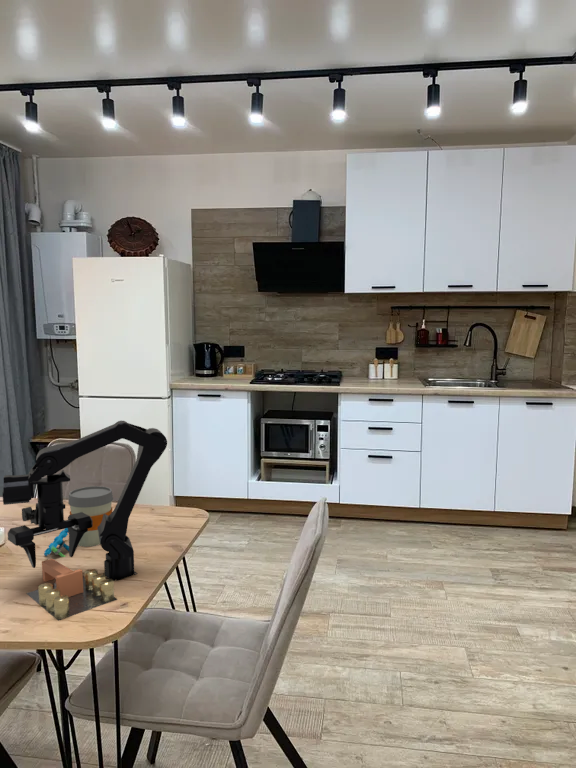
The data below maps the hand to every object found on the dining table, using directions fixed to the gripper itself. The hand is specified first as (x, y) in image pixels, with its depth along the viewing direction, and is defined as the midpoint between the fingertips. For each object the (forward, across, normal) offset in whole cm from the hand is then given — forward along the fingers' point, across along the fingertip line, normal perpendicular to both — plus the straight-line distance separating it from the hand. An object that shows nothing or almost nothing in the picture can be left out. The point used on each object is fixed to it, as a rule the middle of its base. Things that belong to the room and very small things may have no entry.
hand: (52, 561), depth 144 cm
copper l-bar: (+6, 0, +3) cm, 7 cm away
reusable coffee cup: (+6, -21, -22) cm, 31 cm away
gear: (+6, -9, -19) cm, 22 cm away
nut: (+6, 0, +6) cm, 8 cm away
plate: (+6, 0, +10) cm, 11 cm away
